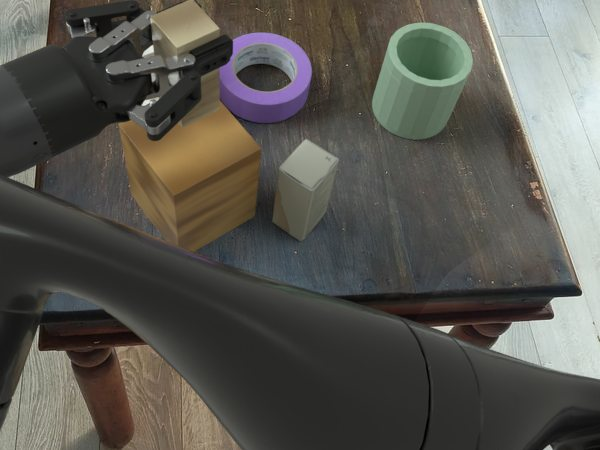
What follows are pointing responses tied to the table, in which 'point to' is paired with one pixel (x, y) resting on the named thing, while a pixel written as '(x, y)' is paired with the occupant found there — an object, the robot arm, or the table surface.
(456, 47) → the jar
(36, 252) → the robot arm
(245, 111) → the tape roll
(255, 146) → the stand
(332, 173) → the box
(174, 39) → the block
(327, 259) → the table surface
